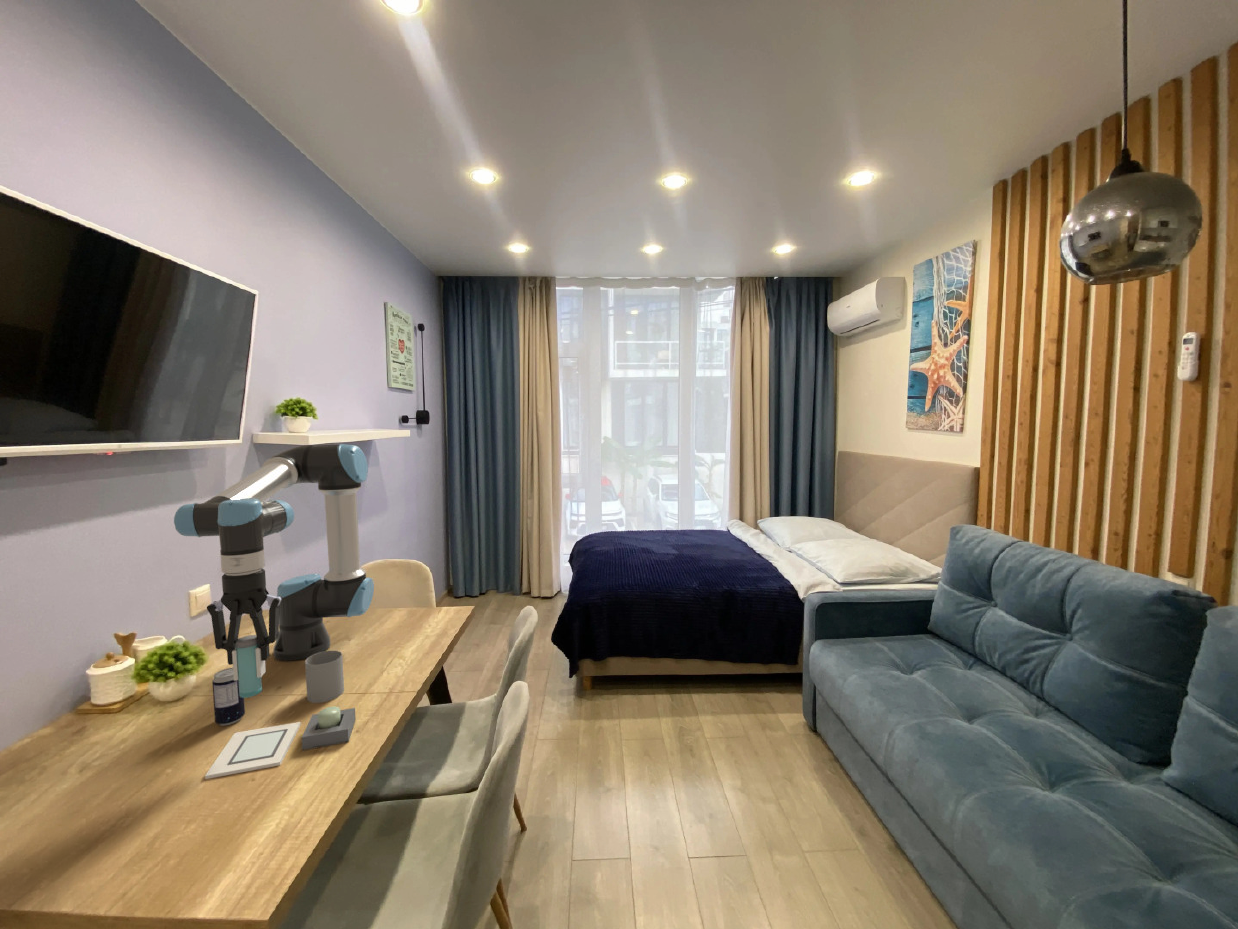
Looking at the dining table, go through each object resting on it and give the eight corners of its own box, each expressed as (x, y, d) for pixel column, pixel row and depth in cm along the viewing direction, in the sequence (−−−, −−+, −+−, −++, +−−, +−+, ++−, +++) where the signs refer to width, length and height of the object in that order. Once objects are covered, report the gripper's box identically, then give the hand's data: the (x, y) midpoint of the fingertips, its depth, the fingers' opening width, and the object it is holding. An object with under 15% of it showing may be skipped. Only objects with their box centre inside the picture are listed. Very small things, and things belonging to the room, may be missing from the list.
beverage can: (250, 716, 122) (247, 668, 122) (226, 729, 117) (222, 680, 116) (234, 712, 124) (231, 665, 123) (209, 725, 119) (206, 676, 118)
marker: (243, 690, 112) (240, 636, 111) (265, 687, 113) (262, 634, 112) (235, 699, 108) (232, 643, 107) (258, 696, 109) (254, 641, 108)
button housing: (312, 727, 118) (312, 714, 118) (355, 719, 121) (355, 707, 121) (302, 750, 109) (301, 737, 109) (348, 742, 112) (347, 729, 112)
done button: (321, 721, 116) (320, 708, 116) (342, 718, 118) (341, 705, 117) (316, 732, 112) (315, 718, 112) (338, 728, 114) (337, 715, 113)
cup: (327, 704, 127) (325, 666, 127) (299, 701, 129) (297, 663, 128) (351, 687, 136) (349, 651, 135) (324, 684, 137) (322, 649, 137)
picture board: (235, 735, 115) (234, 732, 115) (300, 724, 119) (300, 721, 119) (204, 779, 101) (204, 775, 101) (280, 765, 105) (280, 761, 105)
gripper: (188, 579, 103) (195, 690, 104) (282, 572, 107) (287, 678, 109) (206, 569, 110) (212, 673, 111) (293, 563, 115) (298, 663, 116)
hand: (250, 675), depth 110 cm, fingers closed on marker, 4 cm apart
